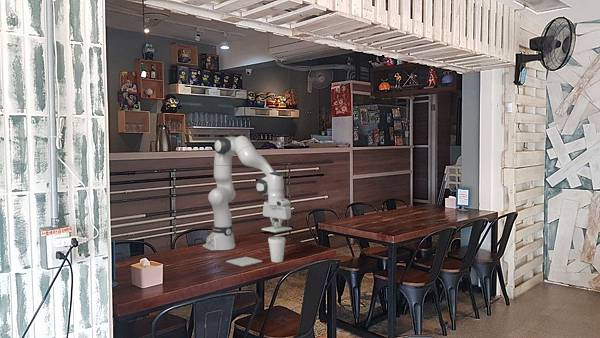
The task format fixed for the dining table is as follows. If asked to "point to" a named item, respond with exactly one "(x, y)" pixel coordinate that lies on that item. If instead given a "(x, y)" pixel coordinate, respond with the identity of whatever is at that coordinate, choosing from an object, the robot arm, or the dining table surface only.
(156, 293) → the dining table surface
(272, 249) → the foam cup
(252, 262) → the mat
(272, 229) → the lid
